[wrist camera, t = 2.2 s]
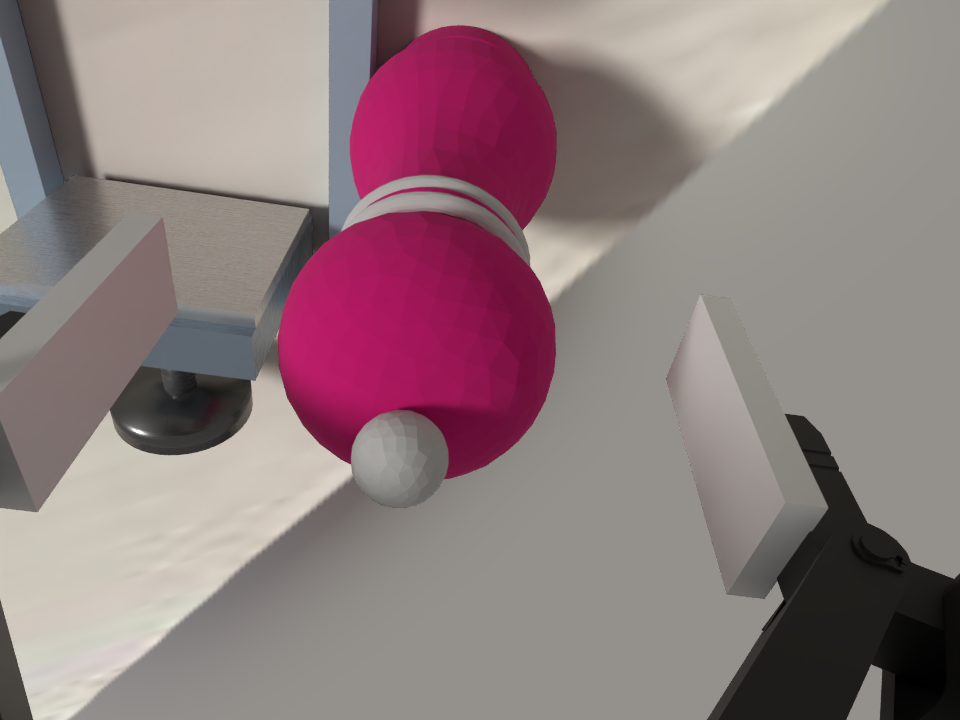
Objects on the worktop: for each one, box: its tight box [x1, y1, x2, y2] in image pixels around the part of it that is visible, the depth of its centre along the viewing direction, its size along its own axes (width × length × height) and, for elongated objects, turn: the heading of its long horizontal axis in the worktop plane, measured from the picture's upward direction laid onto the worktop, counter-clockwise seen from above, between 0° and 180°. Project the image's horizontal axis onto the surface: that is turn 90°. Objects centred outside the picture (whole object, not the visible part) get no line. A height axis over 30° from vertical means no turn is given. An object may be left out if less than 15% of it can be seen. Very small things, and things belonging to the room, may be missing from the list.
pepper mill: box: [278, 26, 556, 508], centre depth 19 cm, size 7×7×20 cm
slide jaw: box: [0, 175, 313, 455], centre depth 29 cm, size 9×10×9 cm
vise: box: [0, 0, 379, 239], centre depth 23 cm, size 20×15×9 cm
